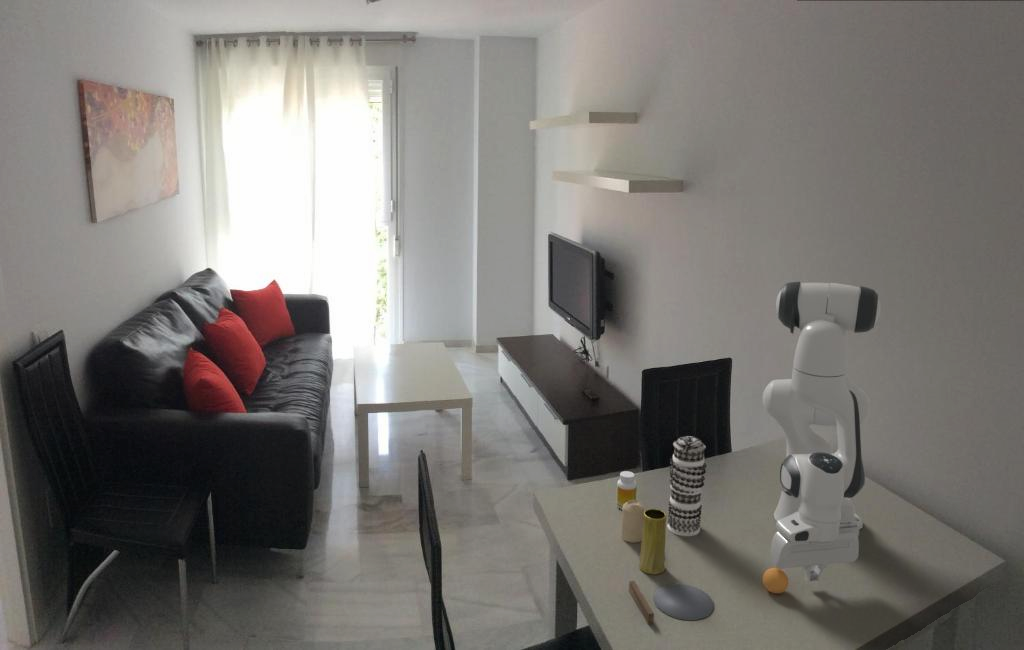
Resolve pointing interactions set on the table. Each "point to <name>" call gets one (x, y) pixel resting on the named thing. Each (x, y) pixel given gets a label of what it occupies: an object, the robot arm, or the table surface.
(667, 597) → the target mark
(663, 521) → the vase
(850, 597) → the table surface
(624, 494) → the supplement bottle
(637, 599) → the stopper strip
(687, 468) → the decorative candle
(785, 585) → the ball
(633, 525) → the candle
